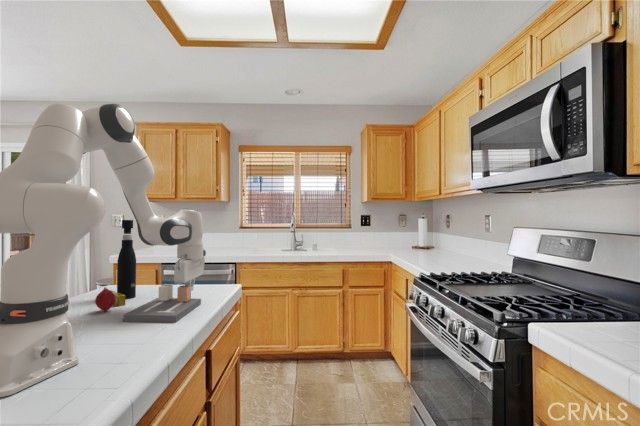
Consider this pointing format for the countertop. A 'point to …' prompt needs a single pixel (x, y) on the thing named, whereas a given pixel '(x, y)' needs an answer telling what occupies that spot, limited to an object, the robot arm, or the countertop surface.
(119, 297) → the medication box
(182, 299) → the fader
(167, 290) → the block
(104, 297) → the onion
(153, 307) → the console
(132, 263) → the wine bottle
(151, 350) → the countertop surface
